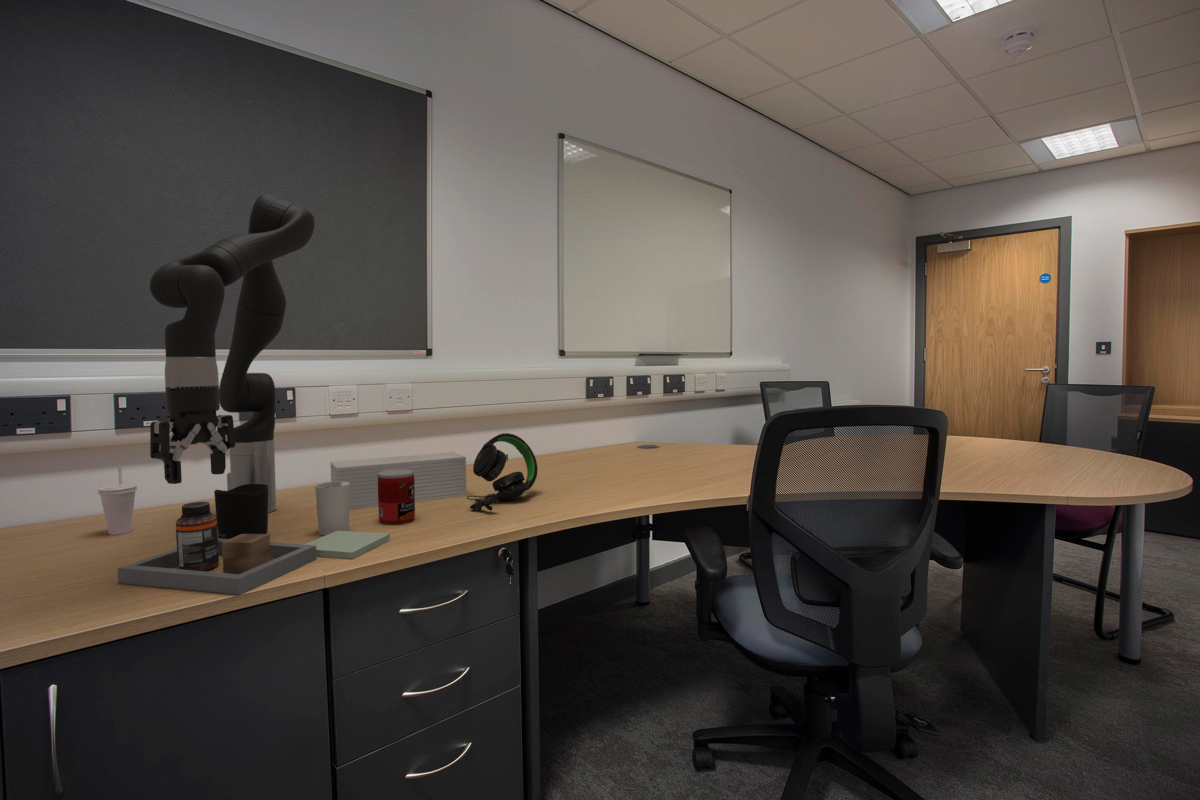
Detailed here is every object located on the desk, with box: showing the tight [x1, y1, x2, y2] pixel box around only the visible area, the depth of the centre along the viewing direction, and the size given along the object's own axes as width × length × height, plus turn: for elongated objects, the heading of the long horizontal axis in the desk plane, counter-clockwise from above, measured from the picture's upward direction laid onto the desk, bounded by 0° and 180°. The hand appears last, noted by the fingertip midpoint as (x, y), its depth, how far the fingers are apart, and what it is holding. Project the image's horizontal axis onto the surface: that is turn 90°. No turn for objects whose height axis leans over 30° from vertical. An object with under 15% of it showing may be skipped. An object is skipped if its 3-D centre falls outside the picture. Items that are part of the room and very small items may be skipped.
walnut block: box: [222, 533, 272, 574], centre depth 100 cm, size 5×5×6 cm
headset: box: [466, 432, 538, 512], centre depth 152 cm, size 16×12×27 cm
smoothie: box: [97, 465, 138, 536], centre depth 125 cm, size 6×6×14 cm
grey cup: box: [314, 481, 350, 536], centre depth 125 cm, size 7×7×10 cm
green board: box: [303, 530, 391, 560], centre depth 114 cm, size 12×12×1 cm
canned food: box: [377, 469, 416, 525], centre depth 134 cm, size 8×8×11 cm
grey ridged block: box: [330, 451, 468, 511], centre depth 156 cm, size 32×11×11 cm, turn 122°
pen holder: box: [213, 484, 269, 539], centre depth 122 cm, size 9×9×10 cm
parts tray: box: [117, 537, 318, 596], centre depth 101 cm, size 23×17×2 cm
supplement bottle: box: [175, 501, 220, 572], centre depth 102 cm, size 6×6×11 cm
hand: (196, 478), depth 102 cm, fingers open, 8 cm apart
